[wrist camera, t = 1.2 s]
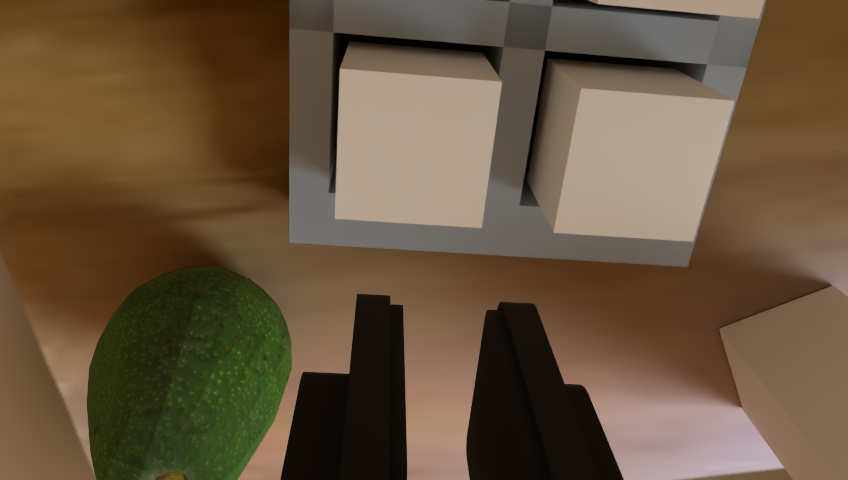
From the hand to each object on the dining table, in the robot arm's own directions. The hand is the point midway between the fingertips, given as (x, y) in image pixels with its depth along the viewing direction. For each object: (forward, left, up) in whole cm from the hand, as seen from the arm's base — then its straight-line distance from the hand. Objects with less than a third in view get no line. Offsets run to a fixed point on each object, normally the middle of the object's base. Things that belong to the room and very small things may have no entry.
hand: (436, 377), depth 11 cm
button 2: (-7, 0, -17) cm, 18 cm away
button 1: (0, 0, -17) cm, 17 cm away
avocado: (+8, +11, -19) cm, 24 cm away
